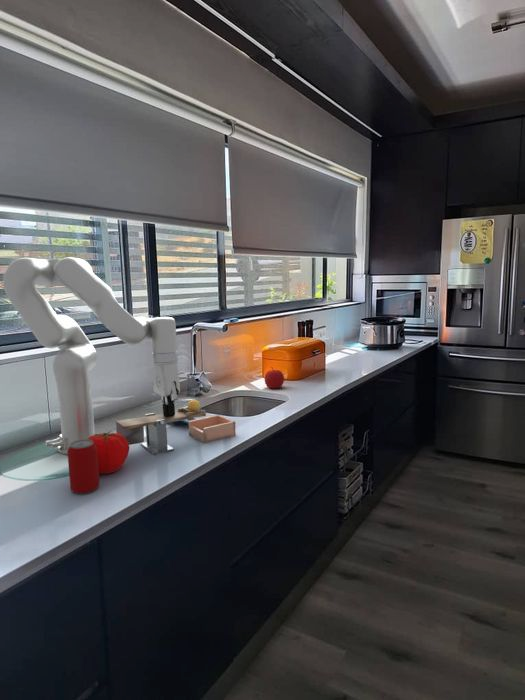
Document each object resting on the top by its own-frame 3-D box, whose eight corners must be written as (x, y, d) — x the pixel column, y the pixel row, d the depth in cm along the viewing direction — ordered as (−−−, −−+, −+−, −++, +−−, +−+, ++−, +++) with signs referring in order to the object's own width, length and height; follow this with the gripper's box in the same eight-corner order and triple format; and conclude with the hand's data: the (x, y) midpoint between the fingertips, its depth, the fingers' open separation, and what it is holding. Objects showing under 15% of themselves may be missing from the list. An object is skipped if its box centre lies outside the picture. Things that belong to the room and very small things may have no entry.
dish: (204, 442, 149) (204, 428, 148) (189, 434, 158) (188, 421, 157) (235, 434, 156) (235, 421, 155) (219, 427, 164) (218, 414, 164)
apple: (273, 391, 215) (272, 369, 214) (260, 387, 222) (260, 367, 221) (288, 387, 221) (287, 366, 220) (275, 384, 228) (275, 364, 227)
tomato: (99, 484, 120) (96, 444, 119) (71, 473, 127) (67, 435, 126) (140, 466, 131) (138, 429, 129) (112, 457, 138) (109, 422, 136)
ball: (189, 412, 148) (193, 400, 149) (183, 409, 152) (187, 397, 152) (200, 414, 151) (203, 402, 151) (194, 411, 154) (197, 400, 154)
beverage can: (103, 483, 121) (99, 438, 119) (94, 495, 114) (91, 447, 112) (76, 484, 120) (72, 438, 119) (66, 496, 114) (62, 448, 112)
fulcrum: (155, 455, 139) (153, 422, 138) (141, 444, 148) (139, 414, 147) (173, 450, 143) (172, 419, 141) (158, 440, 152) (157, 411, 150)
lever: (124, 446, 136) (123, 422, 135) (116, 439, 141) (115, 417, 140) (205, 431, 151) (205, 409, 150) (195, 425, 157) (195, 405, 156)
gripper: (144, 356, 148) (148, 413, 150) (164, 362, 136) (168, 423, 138) (166, 353, 152) (170, 408, 155) (187, 358, 140) (191, 418, 143)
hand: (169, 415), depth 146 cm, fingers closed
